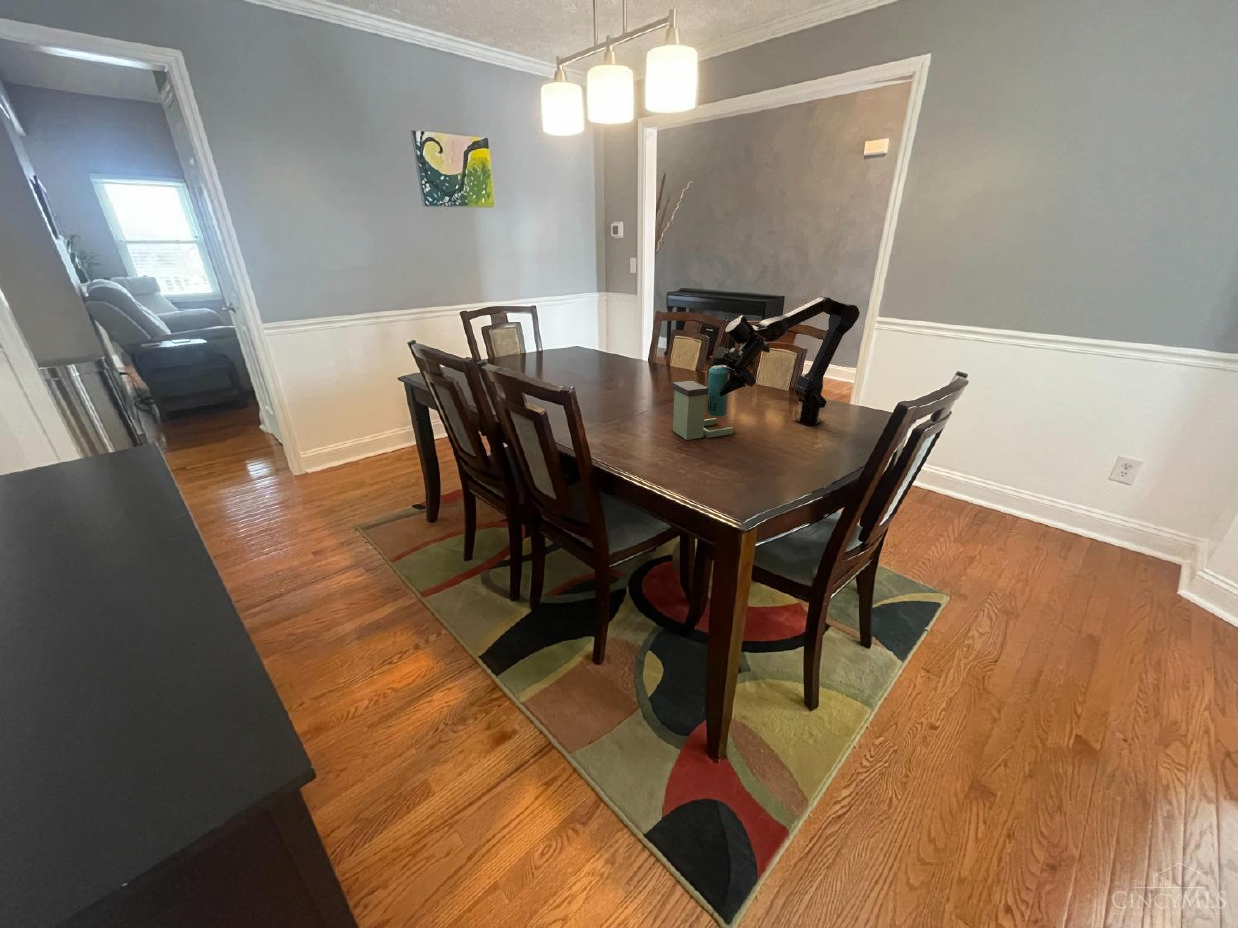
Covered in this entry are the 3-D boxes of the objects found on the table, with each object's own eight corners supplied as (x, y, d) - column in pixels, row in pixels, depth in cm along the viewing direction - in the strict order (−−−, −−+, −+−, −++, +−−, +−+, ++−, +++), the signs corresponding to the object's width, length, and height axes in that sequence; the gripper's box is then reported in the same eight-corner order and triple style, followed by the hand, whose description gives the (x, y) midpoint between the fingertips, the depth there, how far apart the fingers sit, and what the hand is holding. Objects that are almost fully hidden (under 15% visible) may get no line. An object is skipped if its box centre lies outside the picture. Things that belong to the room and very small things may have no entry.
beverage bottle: (727, 414, 160) (731, 353, 151) (725, 422, 155) (729, 359, 146) (707, 413, 162) (710, 353, 153) (704, 420, 156) (707, 358, 147)
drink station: (714, 423, 166) (718, 377, 160) (733, 433, 157) (737, 384, 151) (670, 430, 161) (671, 382, 154) (686, 441, 151) (689, 390, 145)
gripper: (716, 332, 157) (684, 370, 158) (751, 341, 141) (715, 383, 142) (735, 355, 163) (704, 391, 164) (771, 366, 147) (736, 406, 148)
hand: (714, 392), depth 154 cm, fingers closed on beverage bottle, 6 cm apart
